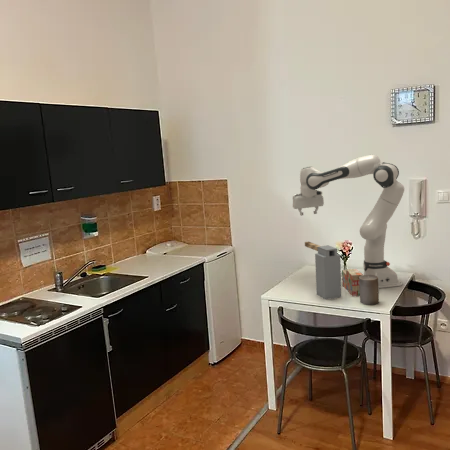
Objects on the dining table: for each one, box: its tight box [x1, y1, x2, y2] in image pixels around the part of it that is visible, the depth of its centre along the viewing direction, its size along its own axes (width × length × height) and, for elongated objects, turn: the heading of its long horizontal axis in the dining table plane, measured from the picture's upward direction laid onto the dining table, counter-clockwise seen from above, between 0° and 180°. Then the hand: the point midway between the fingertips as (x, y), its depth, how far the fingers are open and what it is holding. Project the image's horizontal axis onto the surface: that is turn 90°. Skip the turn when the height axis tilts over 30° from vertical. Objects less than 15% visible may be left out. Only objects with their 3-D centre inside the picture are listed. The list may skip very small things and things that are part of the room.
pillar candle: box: [359, 274, 380, 306], centre depth 238 cm, size 10×10×15 cm
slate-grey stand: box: [314, 245, 342, 300], centre depth 251 cm, size 10×10×28 cm
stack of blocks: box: [341, 268, 364, 297], centre depth 260 cm, size 21×6×12 cm, turn 0°
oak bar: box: [304, 241, 320, 252], centre depth 263 cm, size 22×3×3 cm, turn 17°
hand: (308, 214), depth 285 cm, fingers open, 8 cm apart
